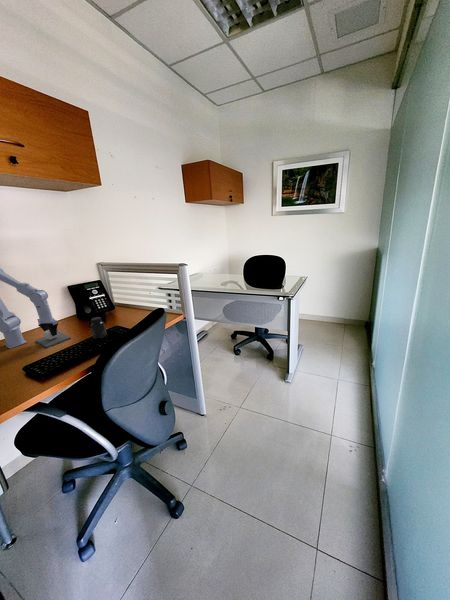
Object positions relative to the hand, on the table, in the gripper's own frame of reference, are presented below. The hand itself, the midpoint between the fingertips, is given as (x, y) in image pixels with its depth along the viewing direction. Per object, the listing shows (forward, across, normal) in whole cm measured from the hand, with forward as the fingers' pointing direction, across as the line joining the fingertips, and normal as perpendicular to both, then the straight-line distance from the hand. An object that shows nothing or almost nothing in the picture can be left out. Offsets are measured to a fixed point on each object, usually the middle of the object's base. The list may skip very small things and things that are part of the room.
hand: (51, 334), depth 135 cm
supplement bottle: (+4, +26, +10) cm, 29 cm away
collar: (+1, 0, 0) cm, 1 cm away
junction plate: (+3, 0, 0) cm, 3 cm away
